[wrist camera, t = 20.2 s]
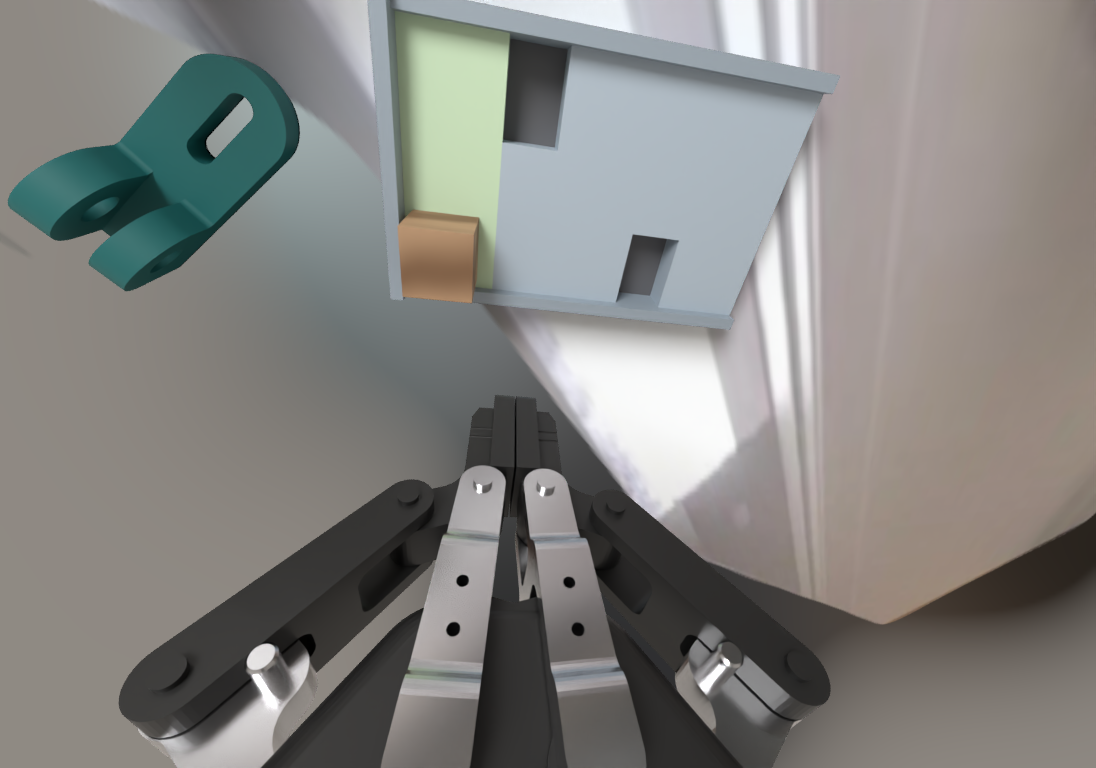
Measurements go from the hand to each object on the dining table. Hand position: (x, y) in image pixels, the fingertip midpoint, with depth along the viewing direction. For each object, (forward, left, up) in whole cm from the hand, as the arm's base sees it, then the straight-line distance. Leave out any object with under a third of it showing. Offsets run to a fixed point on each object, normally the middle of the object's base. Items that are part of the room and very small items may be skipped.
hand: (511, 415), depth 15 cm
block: (+1, -5, -22) cm, 23 cm away
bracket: (-2, -24, -25) cm, 35 cm away
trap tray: (-4, +6, -25) cm, 26 cm away
